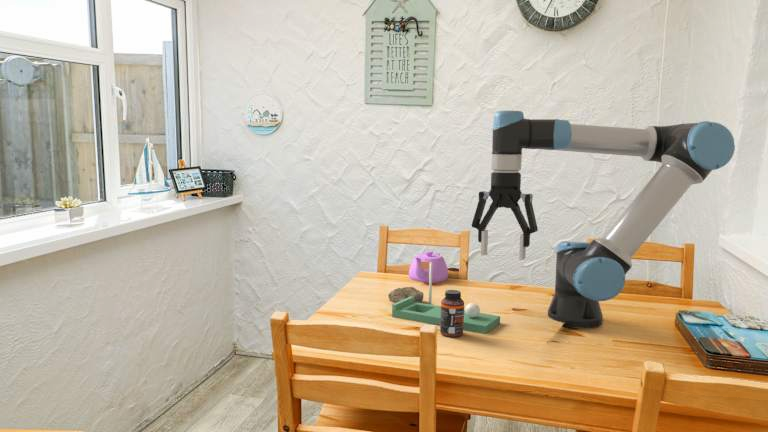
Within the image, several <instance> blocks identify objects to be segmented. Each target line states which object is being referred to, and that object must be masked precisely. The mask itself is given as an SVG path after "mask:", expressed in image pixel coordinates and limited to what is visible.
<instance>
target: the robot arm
mask: <svg viewBox="0 0 768 432" xmlns="http://www.w3.org/2000/svg"><path fill="white" fill-rule="evenodd" d="M491 143H492V146H491V147H492V149H491V170H492V171H493V172H491V174H490V190H489V191H485V190H483V191H482V190H481V191H479V192H478V201H477V206H476V209H475V212H474V215H473V219H472V221H471V227H472V228H474V229H476V230H477V231H478V235H477V237H478V238H477V239H478V240H477V242H478V243H480V256H483V257H484V256H486V255H488V244H489V243H488V241H489V239H488V238H489V230H488V229H487V226H488V225H489V223H490V221H491V219H492V218H493V216H494V215H495V212H496V211H497V210H498V209H500V208H506V209H510V210H511V211H512V212H513V214H514V217H515V219H516V220H517V223H518V225H519V227H520V229H521V232H522V233H521V234H520V236H519V252H518V253H519V254H518V255H519V256H518V259H519V261H523V260H525V259H526V253H527V251H526V249H527V248H528V247H530V241H531V234H533V233H536V232H538V230H539V229H538V225H537V220H536V216H535V215H536V214H535V211H534V207H533V203H532V202H533V197H534V195H533V194H532V193H523V192H522V189H521V181H522V174H521V173H520V171H521V170H522V158H523V155H522V154H523V149H525V150H527V149H528V150H547V151H561V152H562V151H563V152H575V153H587V154H589V153H590V154H602V155H617V156H628V157H641V159H642V160H643V161H646V162H656V163H661V166H660V167H659V169H657V171H656V172H655V173H654V174H653V176H652V177H651V178H650V180H649V181H648V182H647V183H646V184H645V186H644V187H643V188H642V190H641V191H639V193H638V194H637V195H636V197H635V198H634V199H633V200H632V201H631V203H630V204H629V205H628V206H627V208H626V209H624V211H623V212H622V214H621V215H620V216H619V217H618V218H617V219H616V221H615V222H614V223H613V225H612V226H610V228H609V229H608V231H607V232H606V233H605V235H603V236H602V237H598V238H593V239H592V241H591V242H589V241H585V242H583V241H561V242H559V243H558V244H557V247H556V249H557V250H556V252H555V254H556V261H555V262H556V263H555V283H554V288H555V289H554V294H553V297H552V299H551V302H550V304H549V306H548V309H547V317H548V318H549V319H552V320H553V321H556V322H559V323H563V324H562V327H567V328H572V329H573V328H574V329H594V328H598V327H599V328H600V327H601V326H602V325H603V323H604V322H603V320H604V319H603V317H604V316H603V311H602V308H601V306H600V302H605V301H610V300H611V299H614V298H616V297H617V296H618V295H619V294H620V293H621V292H622V290H624V288H625V287H624V286H625V284H626V275H627V273H628V272H629V271H630V270H631V269H632V267H633V265H632V264H633V263H632V258H633V256H634V255H635V254H636V253H637V251H638V250H639V249H640V248H641V246H642V245H643V244H644V243H645V242H646V241H647V239H648V238H649V237H650V236H651V234H652V233H654V231H655V229H656V228H657V227H658V226H659V225H660V223H662V221H663V220H664V219H665V218H666V216H667V215H668V214H669V213H670V211H671V210H672V209H674V207H675V206H676V204H677V203H678V202H679V201H680V199H682V197H683V196H684V195H685V194H686V193H687V191H688V190H689V188H691V186H692V185H695V184H702V183H703V182H704V180H705V179H706V178H707V177H708V176H709V175H710V174H711V173H712V171H715V170H718V169H721V168H723V167H725V166H726V165H727V164H728V163H730V161H731V160H732V158H733V156H734V153H735V149H736V145H735V137H734V136H733V134H732V132H731V130H729V128H728V127H726V126H725V125H723V124H721V123H719V122H715V121H705V120H704V121H700V122H694V123H693V122H692V123H691V122H690V123H680V124H673V125H672V124H671V125H663V126H662V125H660V126H659V125H655V126H654V125H648V126H647V127H645V129H644V128H633V127H632V128H631V127H620V126H619V127H617V126H606V125H588V124H573V123H570V121H569V120H567V119H559V118H554V119H552V118H551V119H545V118H543V119H539V118H537V119H534V118H533V119H530V118H525V116H524V112H523V111H522V110H499V111H496V112H495V113H494V115H493V126H492V141H491ZM488 198H490V199H491V200H492V202H491V203H490V205H489V207H488V210H487V212H485V215H483V213H484V211H485V208H486V207H485V206H486V203H487V200H488ZM520 200H522V202H523V203H524V208H525V213H526V217H527V220H526V218H525V216H524V215H523V212H522V210H521V207H520V205H519V203H518V202H519V201H520ZM482 216H483V217H482Z"/></svg>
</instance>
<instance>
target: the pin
mask: <svg viewBox="0 0 768 432" xmlns="http://www.w3.org/2000/svg"><path fill="white" fill-rule="evenodd" d="M421 269H426V270H430V272H429V283H428V286H429V287H428V304H430V305H432V299H433V298H432V297H433V295H432V294H433V283H432V262H423V261H421Z"/></svg>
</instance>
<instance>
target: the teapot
mask: <svg viewBox="0 0 768 432" xmlns="http://www.w3.org/2000/svg"><path fill="white" fill-rule="evenodd" d="M421 261H423V262H432V284H439V283H443V282H444V281H446V280H448V277H449V270H448V265H447V263H446V260H445V259H444V256H443V255H441V253H439V252H437V253H436V252H435V253H434V252H433V251H432V250H426V251H425V252H424V253H420V254H417V255H415V256H414V258H413V260H412V262H411V264H410V267H409V270H408V278H409V279H410V280H411V281H416V282H420V283H427V284H429V272H430V270H426V269H421Z"/></svg>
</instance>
